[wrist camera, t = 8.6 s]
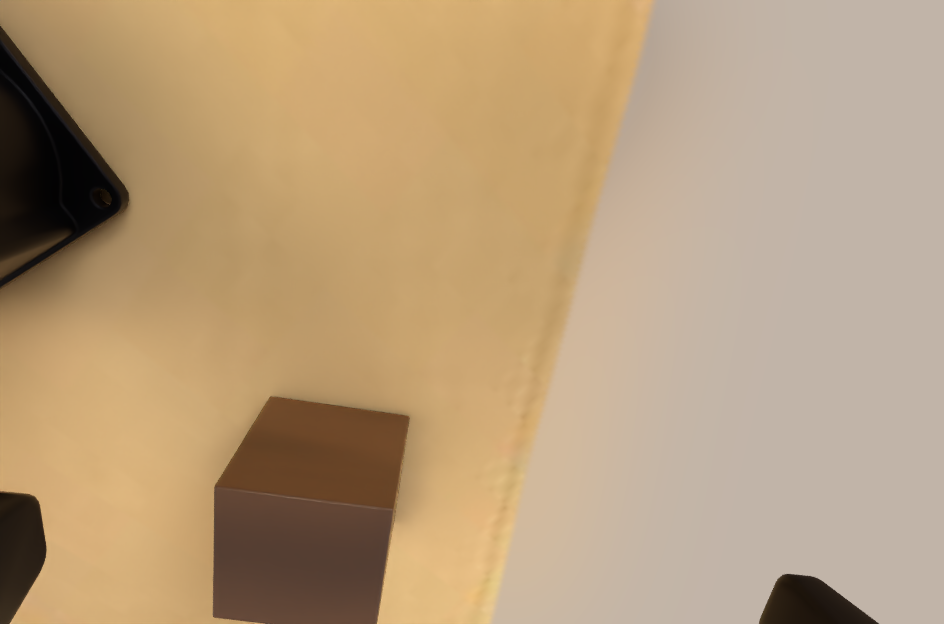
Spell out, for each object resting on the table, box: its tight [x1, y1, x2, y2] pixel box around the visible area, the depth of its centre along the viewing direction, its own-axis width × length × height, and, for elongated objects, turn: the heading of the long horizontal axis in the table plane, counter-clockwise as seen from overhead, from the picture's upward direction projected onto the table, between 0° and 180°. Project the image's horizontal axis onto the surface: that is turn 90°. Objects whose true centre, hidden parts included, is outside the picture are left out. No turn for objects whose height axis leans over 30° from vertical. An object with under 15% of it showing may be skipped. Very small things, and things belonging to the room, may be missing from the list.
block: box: [213, 397, 410, 624], centre depth 17 cm, size 4×4×4 cm
